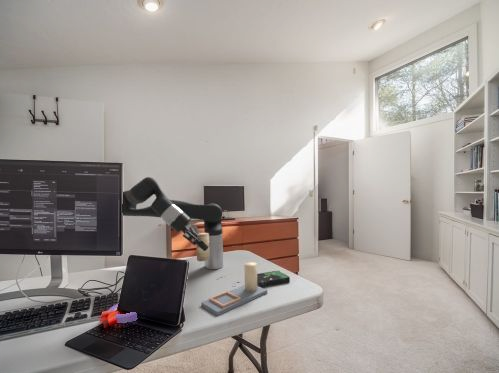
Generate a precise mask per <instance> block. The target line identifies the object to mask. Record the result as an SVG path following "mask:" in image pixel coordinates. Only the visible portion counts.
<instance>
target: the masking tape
mask: <svg viewBox="0 0 499 373" xmlns="http://www.w3.org/2000/svg"><path fill="white" fill-rule="evenodd" d="M118 304H119V303H117V304H114V305H113V306H111V307H110V308H109V309H108V310H107V312H108V311H114V310H117V307H118ZM115 318H116V319H117V323H127V322H132V321H136V320H137V319H138V318H137V313H136V312H130V313H126V314H116V316H115Z"/></svg>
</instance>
